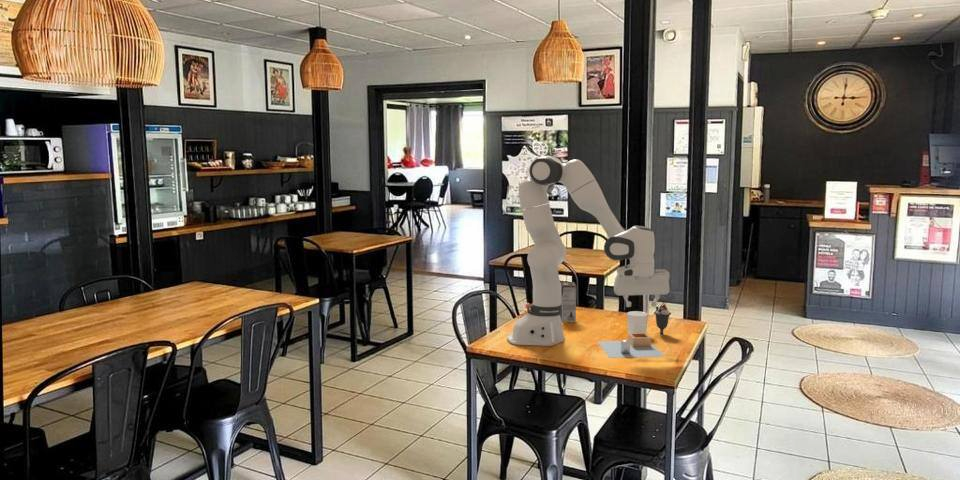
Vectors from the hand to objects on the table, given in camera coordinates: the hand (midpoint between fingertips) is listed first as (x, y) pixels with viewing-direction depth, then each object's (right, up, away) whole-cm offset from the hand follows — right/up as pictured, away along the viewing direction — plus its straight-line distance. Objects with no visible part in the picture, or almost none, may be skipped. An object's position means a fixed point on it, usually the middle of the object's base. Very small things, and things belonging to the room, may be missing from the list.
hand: (641, 306), depth 246 cm
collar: (0, -15, +2) cm, 15 cm away
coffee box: (-21, -11, +46) cm, 52 cm away
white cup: (+2, -14, +16) cm, 22 cm away
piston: (-8, -16, -8) cm, 20 cm away
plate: (-5, -17, -3) cm, 18 cm away
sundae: (+12, -14, +17) cm, 25 cm away
